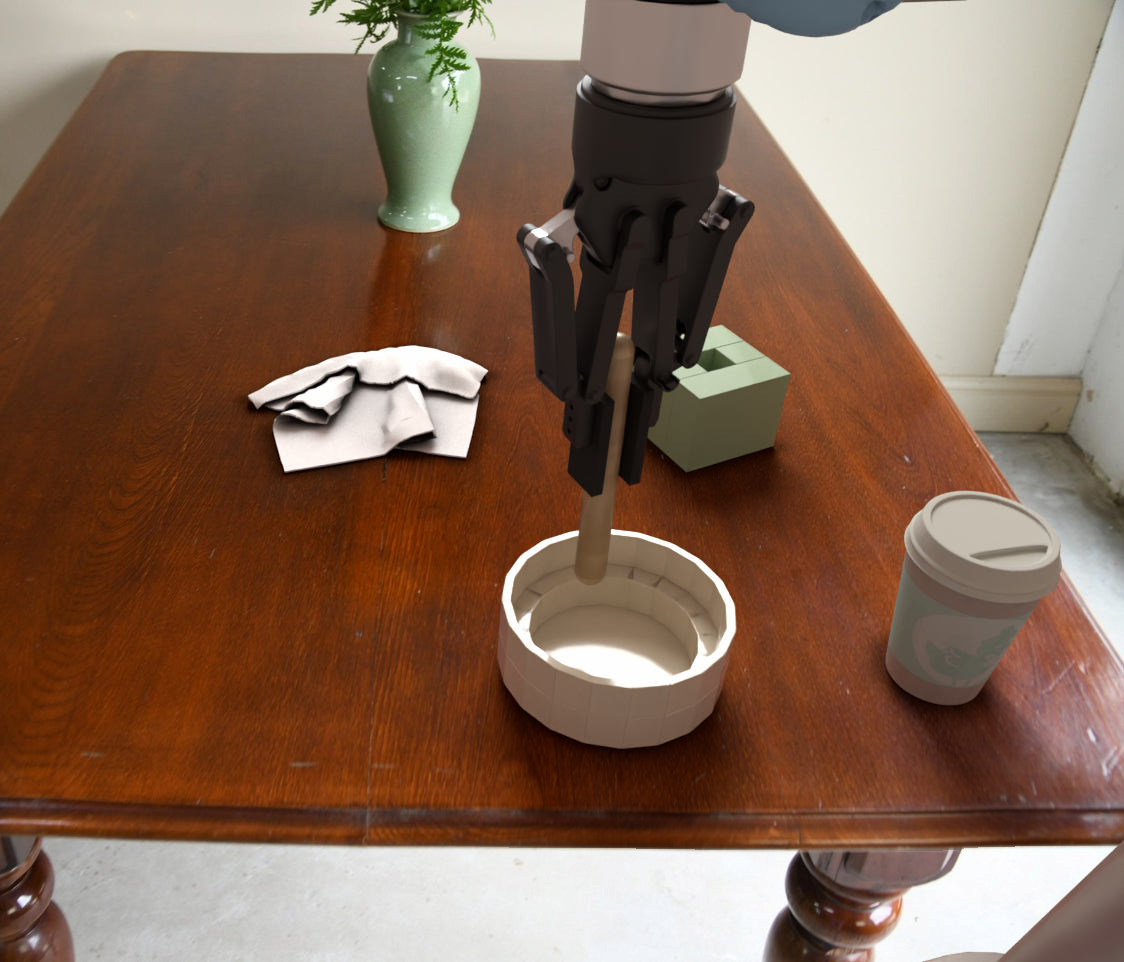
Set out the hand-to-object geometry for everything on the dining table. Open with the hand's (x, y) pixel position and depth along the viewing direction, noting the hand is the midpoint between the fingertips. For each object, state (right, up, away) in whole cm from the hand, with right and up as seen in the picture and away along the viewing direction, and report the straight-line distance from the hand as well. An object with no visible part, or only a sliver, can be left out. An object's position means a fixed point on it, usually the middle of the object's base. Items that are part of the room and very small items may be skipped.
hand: (603, 476), depth 67 cm
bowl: (+1, -13, +6) cm, 14 cm away
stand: (+13, +4, +28) cm, 31 cm away
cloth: (-15, +6, +31) cm, 35 cm away
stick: (0, -7, +5) cm, 8 cm away
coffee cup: (+22, -13, +6) cm, 26 cm away
